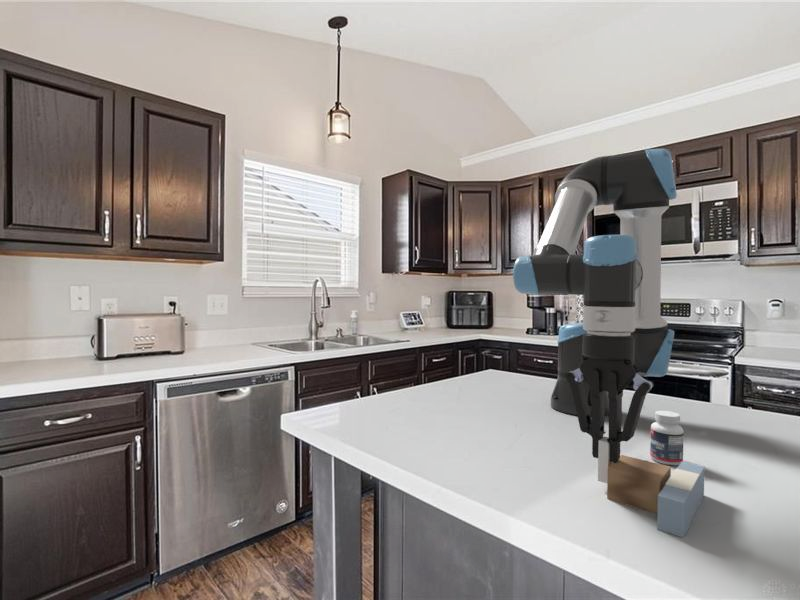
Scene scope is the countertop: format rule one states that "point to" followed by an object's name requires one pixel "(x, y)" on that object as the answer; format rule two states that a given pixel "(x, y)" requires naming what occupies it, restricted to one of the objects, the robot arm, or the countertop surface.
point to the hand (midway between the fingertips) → (605, 479)
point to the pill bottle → (667, 438)
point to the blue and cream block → (680, 498)
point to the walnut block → (637, 482)
